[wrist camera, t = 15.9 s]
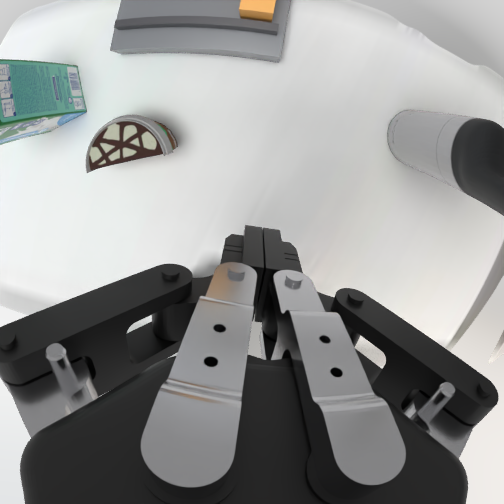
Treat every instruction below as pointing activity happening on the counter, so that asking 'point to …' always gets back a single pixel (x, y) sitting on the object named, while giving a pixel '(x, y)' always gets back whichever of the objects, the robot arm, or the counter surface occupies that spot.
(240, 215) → the counter surface
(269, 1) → the switch knob
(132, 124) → the food container
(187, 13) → the switch plate
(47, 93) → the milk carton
